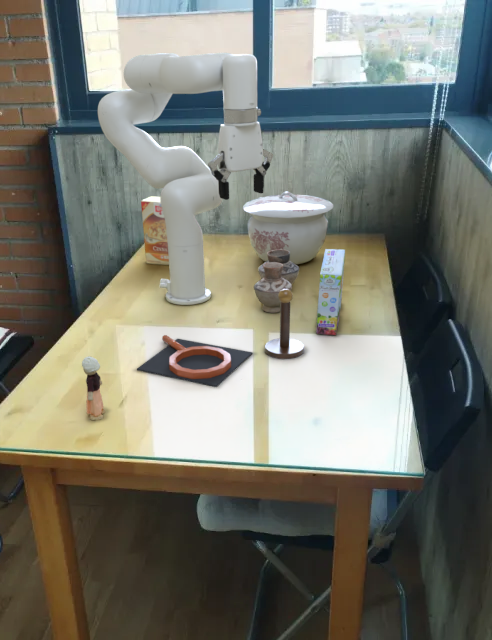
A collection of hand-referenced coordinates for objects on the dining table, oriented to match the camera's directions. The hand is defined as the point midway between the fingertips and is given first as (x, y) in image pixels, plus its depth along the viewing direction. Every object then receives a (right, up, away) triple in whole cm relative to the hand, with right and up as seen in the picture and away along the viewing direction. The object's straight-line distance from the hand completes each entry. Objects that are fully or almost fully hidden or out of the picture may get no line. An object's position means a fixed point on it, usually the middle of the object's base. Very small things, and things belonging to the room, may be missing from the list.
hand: (241, 195), depth 164 cm
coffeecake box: (-20, -2, +57) cm, 60 cm away
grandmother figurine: (-30, -53, -27) cm, 66 cm away
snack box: (+23, -28, +11) cm, 38 cm away
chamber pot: (+17, -2, +55) cm, 58 cm away
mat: (-11, -40, -7) cm, 42 cm away
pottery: (+11, -20, +25) cm, 34 cm away
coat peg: (+10, -37, -4) cm, 39 cm away
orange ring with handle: (-12, -39, -6) cm, 41 cm away
